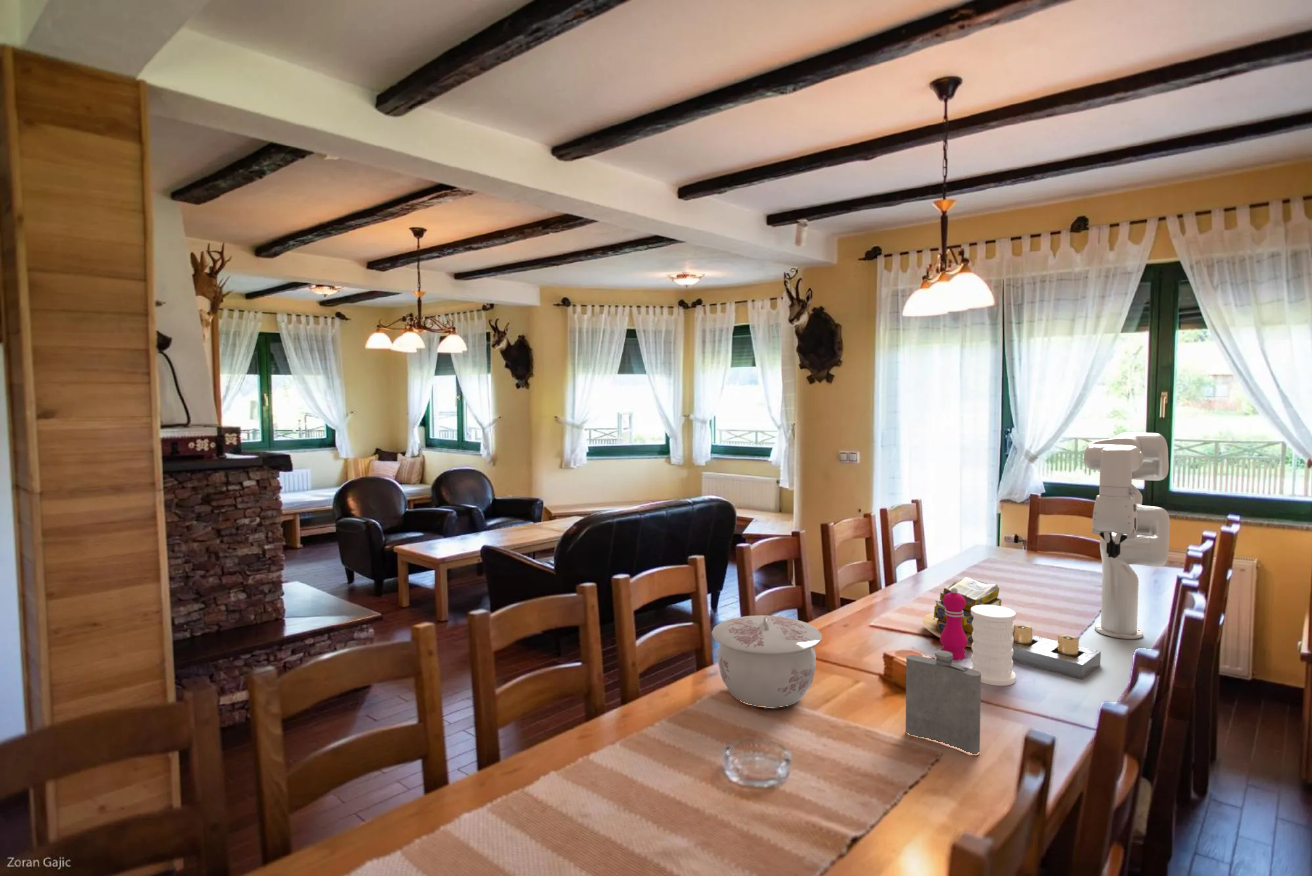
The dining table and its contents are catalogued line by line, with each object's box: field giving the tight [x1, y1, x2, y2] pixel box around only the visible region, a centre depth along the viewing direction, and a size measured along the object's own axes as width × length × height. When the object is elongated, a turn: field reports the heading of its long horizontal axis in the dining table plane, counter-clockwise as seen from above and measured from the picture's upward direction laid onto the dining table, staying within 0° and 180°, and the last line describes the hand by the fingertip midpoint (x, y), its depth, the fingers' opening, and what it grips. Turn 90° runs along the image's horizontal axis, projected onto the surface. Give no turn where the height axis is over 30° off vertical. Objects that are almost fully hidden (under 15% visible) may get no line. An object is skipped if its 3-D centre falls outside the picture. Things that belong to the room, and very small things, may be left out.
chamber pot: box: [711, 614, 823, 707], centre depth 181 cm, size 28×28×21 cm
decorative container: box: [968, 605, 1017, 687], centre depth 192 cm, size 12×12×18 cm
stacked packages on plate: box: [922, 576, 1003, 648], centre depth 224 cm, size 25×25×17 cm
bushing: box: [1057, 634, 1080, 658], centre depth 198 cm, size 5×5×8 cm
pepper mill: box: [939, 588, 967, 661], centre depth 207 cm, size 7×7×20 cm
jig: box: [1012, 623, 1102, 681], centre depth 203 cm, size 14×24×8 cm, turn 41°
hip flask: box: [905, 650, 982, 754], centre depth 157 cm, size 16×4×20 cm, turn 47°
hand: (1113, 556), depth 202 cm, fingers closed
